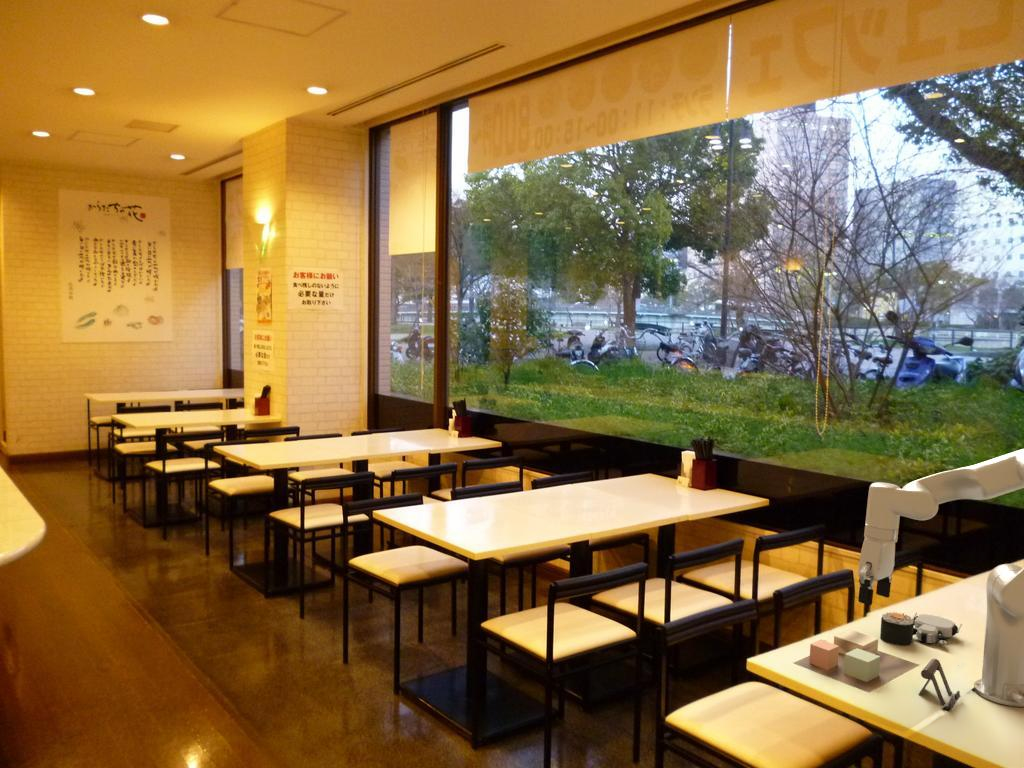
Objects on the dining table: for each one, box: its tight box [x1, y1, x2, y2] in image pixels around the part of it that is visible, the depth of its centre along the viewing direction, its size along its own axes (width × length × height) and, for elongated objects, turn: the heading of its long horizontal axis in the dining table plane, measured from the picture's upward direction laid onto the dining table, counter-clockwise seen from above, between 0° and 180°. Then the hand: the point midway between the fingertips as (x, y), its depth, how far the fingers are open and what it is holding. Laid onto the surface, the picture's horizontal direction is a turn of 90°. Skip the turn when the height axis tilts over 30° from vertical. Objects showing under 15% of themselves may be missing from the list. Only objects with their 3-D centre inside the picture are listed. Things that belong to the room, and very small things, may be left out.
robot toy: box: [912, 612, 963, 646], centre depth 228 cm, size 12×4×15 cm
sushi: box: [879, 611, 915, 647], centre depth 223 cm, size 8×8×8 cm
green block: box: [844, 648, 880, 682], centre depth 201 cm, size 6×6×5 cm
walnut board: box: [793, 650, 920, 693], centre depth 207 cm, size 20×26×1 cm
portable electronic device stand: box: [918, 658, 961, 712], centre depth 190 cm, size 9×8×8 cm
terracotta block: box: [809, 639, 839, 670], centre depth 206 cm, size 5×5×5 cm
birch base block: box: [833, 628, 879, 655], centre depth 214 cm, size 8×8×4 cm
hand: (873, 599), depth 202 cm, fingers open, 9 cm apart
